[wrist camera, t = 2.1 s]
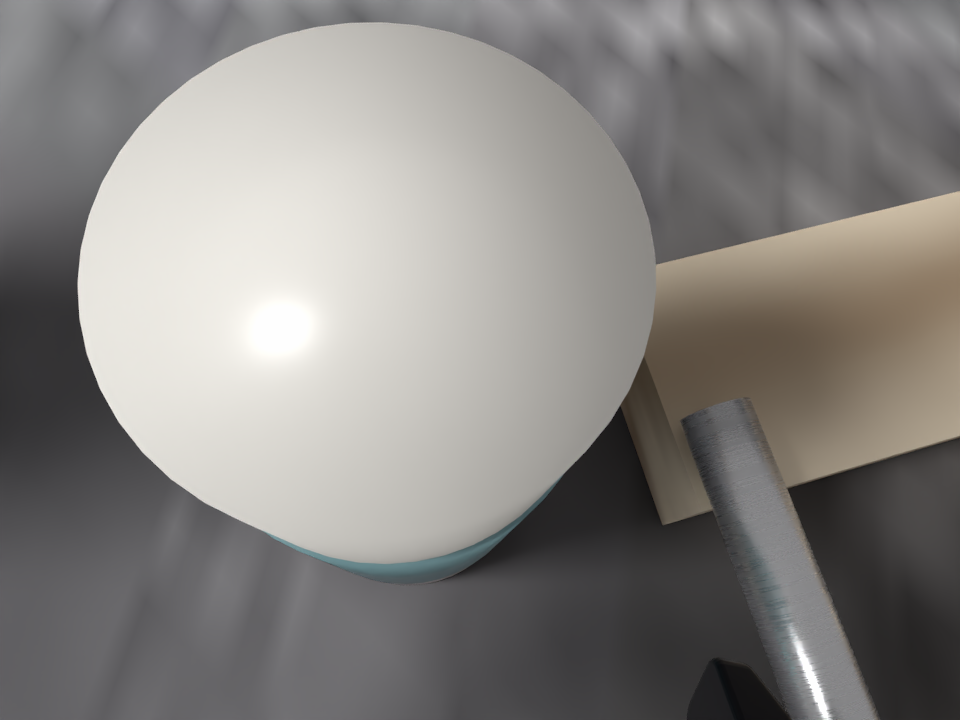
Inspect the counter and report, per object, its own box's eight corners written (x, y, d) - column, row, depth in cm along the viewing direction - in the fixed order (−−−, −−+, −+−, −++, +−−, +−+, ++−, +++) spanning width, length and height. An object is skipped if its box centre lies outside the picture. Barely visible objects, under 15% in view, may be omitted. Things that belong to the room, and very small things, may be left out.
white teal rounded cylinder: (544, 552, 19) (748, 453, 7) (329, 615, 18) (113, 635, 6) (484, 353, 21) (560, -21, 8) (284, 403, 20) (41, 72, 8)
